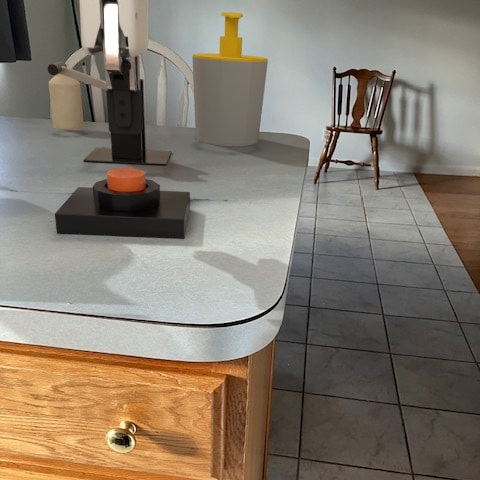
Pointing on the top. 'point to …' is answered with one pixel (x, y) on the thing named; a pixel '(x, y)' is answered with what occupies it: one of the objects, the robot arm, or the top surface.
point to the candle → (66, 103)
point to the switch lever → (75, 75)
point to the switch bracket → (129, 148)
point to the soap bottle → (228, 91)
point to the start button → (126, 179)
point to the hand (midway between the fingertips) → (126, 132)
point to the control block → (124, 212)
